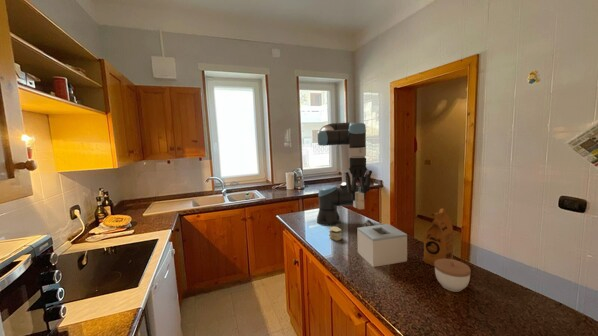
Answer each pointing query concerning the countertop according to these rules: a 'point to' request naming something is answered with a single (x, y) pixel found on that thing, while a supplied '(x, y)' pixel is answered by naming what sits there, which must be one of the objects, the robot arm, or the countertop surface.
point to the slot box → (382, 244)
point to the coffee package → (438, 239)
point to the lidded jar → (452, 274)
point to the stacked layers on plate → (335, 233)
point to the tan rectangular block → (360, 200)
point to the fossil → (368, 223)
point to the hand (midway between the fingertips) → (358, 206)
